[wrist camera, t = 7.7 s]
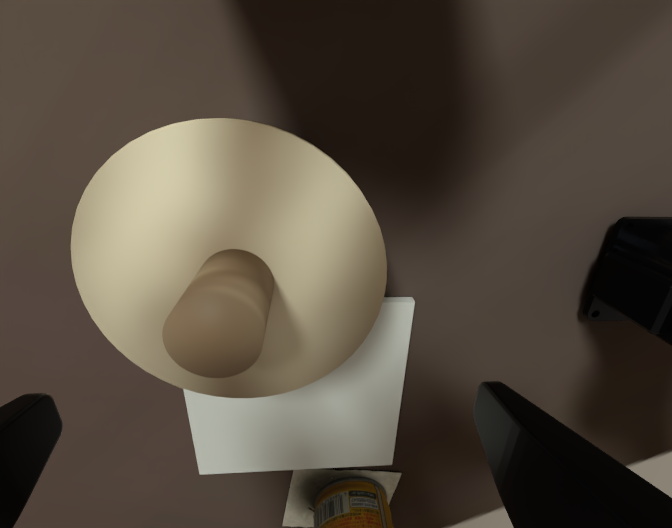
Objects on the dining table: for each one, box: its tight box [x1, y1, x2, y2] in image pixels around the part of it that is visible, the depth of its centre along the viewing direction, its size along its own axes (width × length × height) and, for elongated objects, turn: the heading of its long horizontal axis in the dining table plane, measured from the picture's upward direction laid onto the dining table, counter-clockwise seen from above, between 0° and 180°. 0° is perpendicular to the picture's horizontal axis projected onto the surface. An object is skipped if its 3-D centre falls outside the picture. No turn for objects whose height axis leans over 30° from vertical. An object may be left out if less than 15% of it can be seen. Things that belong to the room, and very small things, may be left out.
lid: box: [71, 118, 387, 398], centre depth 12 cm, size 12×12×4 cm
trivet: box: [183, 297, 415, 474], centre depth 23 cm, size 14×14×1 cm
